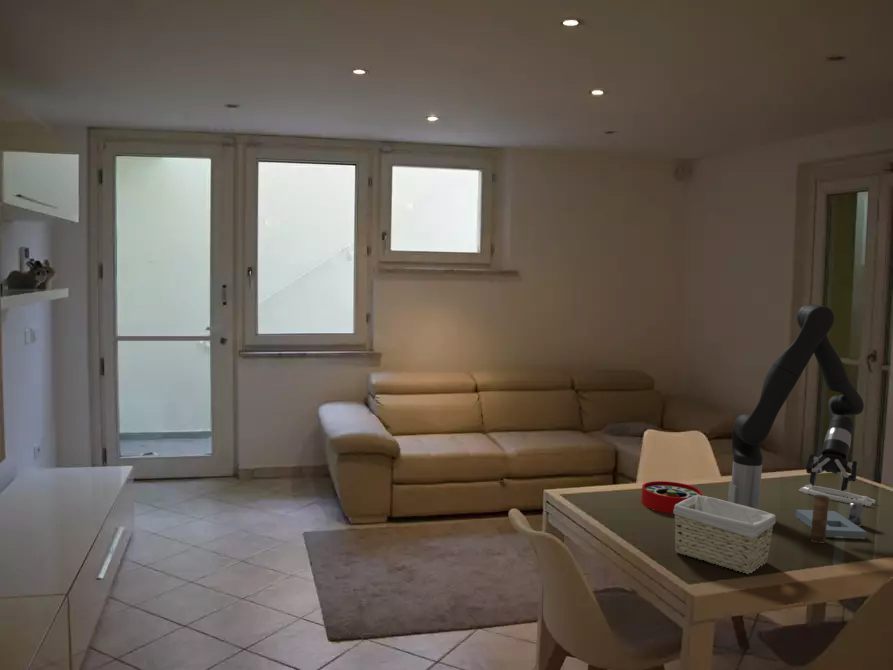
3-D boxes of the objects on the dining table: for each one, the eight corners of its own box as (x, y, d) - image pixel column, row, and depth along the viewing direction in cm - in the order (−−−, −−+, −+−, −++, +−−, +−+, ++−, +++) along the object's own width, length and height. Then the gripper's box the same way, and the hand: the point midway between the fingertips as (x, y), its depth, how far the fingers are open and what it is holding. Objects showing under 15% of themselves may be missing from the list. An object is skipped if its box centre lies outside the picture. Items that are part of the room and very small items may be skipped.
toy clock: (647, 495, 259) (638, 479, 279) (646, 513, 260) (636, 495, 280) (708, 500, 258) (695, 483, 278) (707, 517, 258) (693, 499, 278)
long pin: (814, 543, 236) (818, 498, 235) (808, 538, 240) (812, 494, 239) (827, 543, 236) (831, 498, 235) (821, 539, 240) (825, 495, 239)
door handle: (869, 510, 274) (795, 493, 291) (877, 504, 281) (805, 488, 298) (869, 502, 274) (796, 486, 291) (877, 497, 281) (805, 481, 298)
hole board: (823, 537, 242) (824, 529, 242) (795, 516, 262) (796, 509, 261) (865, 539, 242) (866, 531, 242) (834, 518, 262) (834, 511, 261)
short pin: (851, 526, 254) (853, 505, 254) (845, 522, 258) (847, 501, 258) (863, 526, 254) (865, 505, 254) (857, 522, 258) (859, 502, 258)
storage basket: (774, 563, 219) (778, 512, 217) (751, 579, 207) (755, 525, 205) (693, 540, 235) (697, 492, 233) (668, 553, 223) (671, 503, 222)
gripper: (812, 434, 254) (802, 476, 246) (861, 441, 246) (852, 485, 238) (813, 447, 259) (804, 489, 251) (861, 455, 251) (853, 498, 242)
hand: (827, 487), depth 244 cm, fingers open, 8 cm apart
